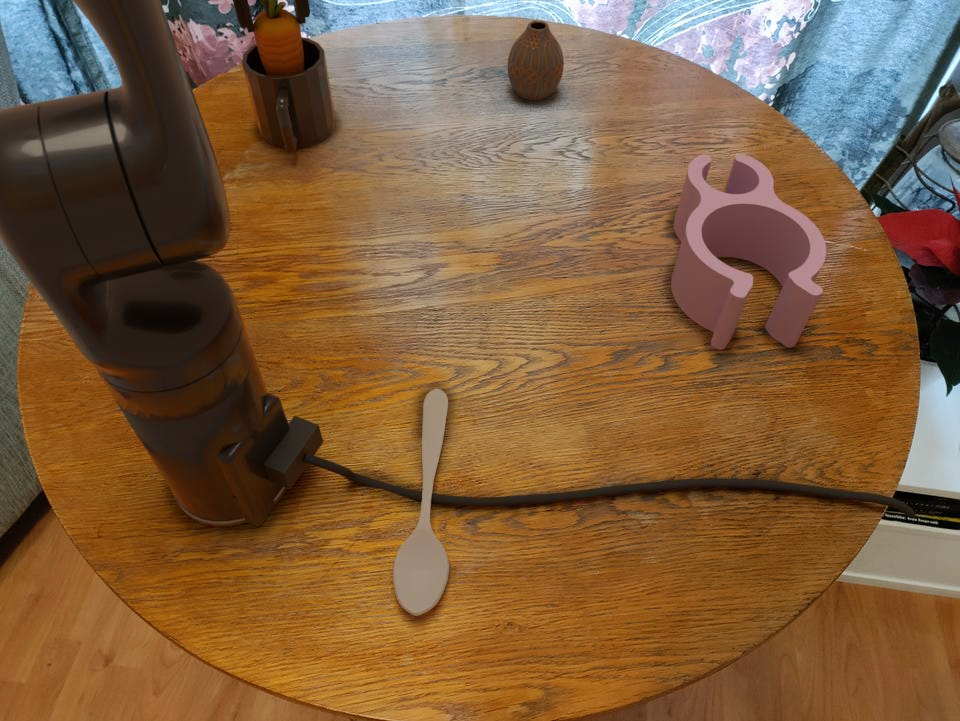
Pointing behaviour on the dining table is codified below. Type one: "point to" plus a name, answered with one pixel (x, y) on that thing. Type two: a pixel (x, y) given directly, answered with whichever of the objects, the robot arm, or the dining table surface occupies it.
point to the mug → (292, 100)
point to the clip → (743, 251)
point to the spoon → (424, 524)
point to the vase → (535, 62)
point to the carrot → (279, 40)
